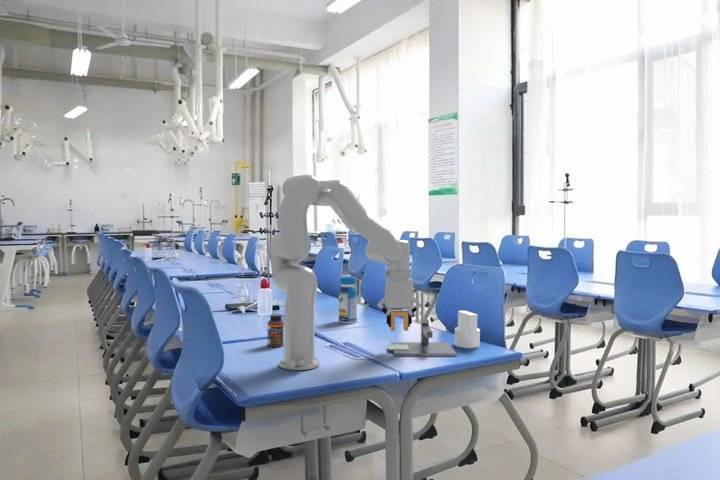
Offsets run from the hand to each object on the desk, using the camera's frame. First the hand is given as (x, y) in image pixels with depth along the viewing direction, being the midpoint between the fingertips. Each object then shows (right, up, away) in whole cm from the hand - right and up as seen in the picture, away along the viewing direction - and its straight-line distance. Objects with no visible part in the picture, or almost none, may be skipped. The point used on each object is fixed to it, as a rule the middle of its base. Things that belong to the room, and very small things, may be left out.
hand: (399, 325), depth 194 cm
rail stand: (+8, -9, 0) cm, 12 cm away
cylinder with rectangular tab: (+26, -9, +9) cm, 28 cm away
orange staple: (0, -1, 0) cm, 1 cm away
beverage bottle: (-19, -6, +51) cm, 55 cm away
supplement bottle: (-44, -8, +7) cm, 46 cm away
